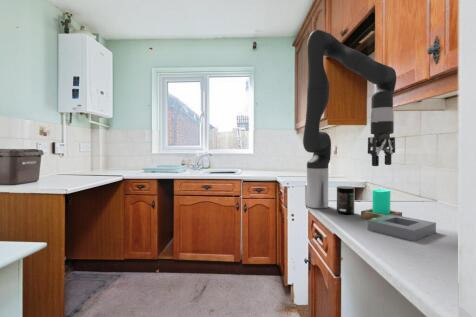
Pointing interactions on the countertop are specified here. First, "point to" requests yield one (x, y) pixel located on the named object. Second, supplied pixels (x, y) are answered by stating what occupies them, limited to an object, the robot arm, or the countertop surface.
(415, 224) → the frame
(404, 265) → the countertop surface
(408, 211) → the countertop surface
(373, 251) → the countertop surface
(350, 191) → the supplement container
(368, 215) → the holder ring
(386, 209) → the candle
